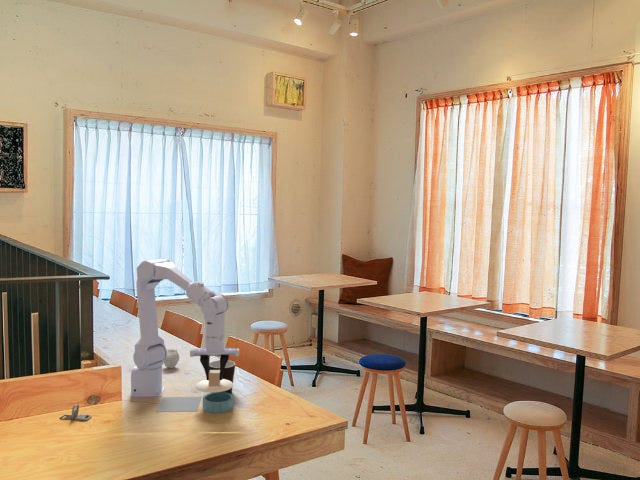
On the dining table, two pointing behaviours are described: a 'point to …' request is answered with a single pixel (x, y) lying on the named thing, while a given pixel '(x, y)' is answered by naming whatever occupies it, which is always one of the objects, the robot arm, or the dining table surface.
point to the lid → (214, 383)
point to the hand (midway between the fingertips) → (214, 379)
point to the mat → (179, 404)
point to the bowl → (217, 402)
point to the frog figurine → (171, 358)
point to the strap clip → (76, 415)
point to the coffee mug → (227, 372)
